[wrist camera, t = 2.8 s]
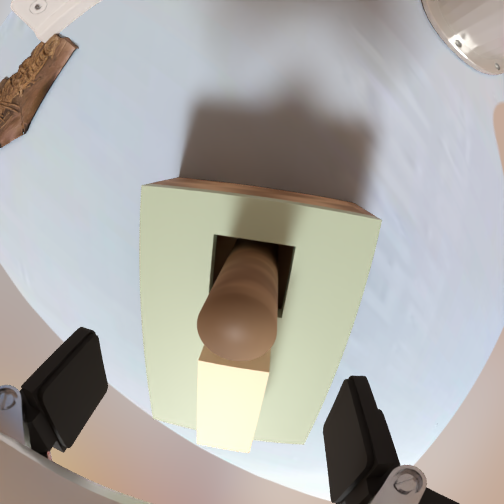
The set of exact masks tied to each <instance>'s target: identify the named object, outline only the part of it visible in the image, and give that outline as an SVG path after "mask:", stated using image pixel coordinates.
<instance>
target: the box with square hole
mask: <svg viewBox="0 0 504 504" xmlns="http://www.w3.org/2000/svg"><path fill="white" fill-rule="evenodd" d="M150 184H159V185H169V186H179V187H189V188H198V189H207V190H215V191H223V192H231V193H239V194H246V195H253V196H260V197H267V198H274V199H280V200H287V201H293V202H299V203H305V204H311V205H317V206H323V207H329V208H334V209H340V210H345V211H350V212H356V213H361V214H366V215H371V216H374V215H373V214H371V213H369V212H368V211H366V210H365V209H363V208H361V207H360V206H358V205H356V204H355V203H352V202H347V201H342V200H337V199H331V198H326V197H320V196H314V195H309V194H303V193H297V192H290V191H284V190H278V189H271V188H264V187H257V186H250V185H242V184H234V183H226V182H218V181H209V180H200V179H190V178H180V177H178V178H173V179H168V180H164V181H159V182H155V183H150ZM236 240H237V238H236V237H229V236H222V235H217V242H216V252H215V263H214V274H213V285H214V283H215V281H216V279H217V277H218V275H219V273H220V271H221V269H222V267H223V266H224V264H225V262H226V260H227V258H228V256H229V254H230V252H231V250H232V248H233V246H234V244H235V242H236ZM293 248H294V246H289V245H282V244H278V309H282V306H283V301H284V296H285V291H286V286H287V281H288V275H289V270H290V265H291V259H292V254H293ZM212 287H213V286H212Z"/></svg>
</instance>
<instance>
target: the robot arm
mask: <svg viewBox="0 0 504 504" xmlns="http://www.w3.org/2000/svg"><path fill="white" fill-rule="evenodd" d="M422 3H423V7H424V10H425V12H426V14H427V17H428V19H429V20H430V22H431V24H432V26H433V27H434V29H435V30H436V32H437V33H438V35H439V36H440V37H441V39H442V40H443V41H444V42H445V43H446V45H447V46H448V47H449V48H450V49H451V50H452V51H453V52H454V53H455V54H456V55H457V56H458V57H459V58H460V59H462V60H463V61H464V62H465V63H466V64H468V65H470V66H471V67H473V68H474V69H476V70H478V71H480V72H482V73H485V74H489V75H498V74H502V73H504V0H422ZM21 388H22V389H21V390H20V391H19V390H18V389H17V388H15V387H14V386H11V385H2V386H0V504H152V503H149V502H146V501H142V500H140V499H136V498H134V497H131V496H128V495H125V494H122V493H120V492H117V491H115V490H112V489H109V488H107V487H105V486H102V485H100V484H97V483H95V482H93V481H90V480H89V479H86V478H84V477H82V476H80V475H77V474H76V473H73V472H72V471H70V470H68V469H66V468H64V467H62V466H60V465H58V464H56V463H55V462H53V461H52V457H51V452H50V450H51V448H52V447H54V448H56V449H58V450H60V451H61V452H65V450H66V448H70V447H71V446H72V445H73V443H74V441H75V440H76V438H77V437H78V435H79V434H80V432H81V430H82V429H83V427H84V426H85V424H86V422H87V421H88V419H89V418H90V416H91V415H92V413H93V412H94V410H95V409H96V407H97V405H98V404H99V403H100V401H101V399H102V398H103V396H104V395H105V393H106V392H107V388H108V383H107V378H106V374H105V369H104V364H103V360H102V354H101V349H100V343H99V338H98V336H97V335H96V334H95V332H94V331H93V330H90V329H87V328H84V327H80V328H78V329H77V330H76V331H75V332H74V333H73V334H72V335H71V336H70V337H69V338H68V339H67V340H66V341H65V342H64V343H63V344H62V345H61V346H60V347H59V348H58V349H57V350H56V351H55V352H54V353H53V354H52V355H51V356H50V357H49V358H48V359H47V360H46V361H45V362H44V363H43V364H42V365H41V366H40V367H39V368H38V369H37V370H36V371H35V372H34V373H33V374H32V375H31V376H30V377H29V378H28V379H27V381H26V382H25V383H24V384H23V385H22V386H21ZM323 435H324V443H325V451H326V460H327V468H328V477H329V486H330V496H331V501H332V503H336V504H459V503H457V502H455V501H453V500H451V499H449V498H447V497H445V496H443V495H440V494H438V493H436V492H434V491H432V490H430V489H429V488H427V487H426V485H427V481H426V477H425V475H424V473H423V472H422V471H421V470H420V469H418V468H417V467H414V466H411V465H402V466H400V463H399V460H398V456H397V453H396V450H395V447H394V444H393V441H392V438H391V435H390V432H389V429H388V426H387V423H386V420H385V417H384V414H383V412H382V411H381V410H380V409H378V408H377V405H376V402H375V399H374V397H373V394H372V391H371V388H370V385H369V383H368V380H367V378H366V377H365V376H350V377H349V379H345V380H344V382H343V384H342V386H341V388H340V391H339V393H338V395H337V398H336V400H335V402H334V404H333V407H332V409H331V411H330V413H329V415H328V417H327V419H326V421H325V424H324V427H323Z"/></svg>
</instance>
